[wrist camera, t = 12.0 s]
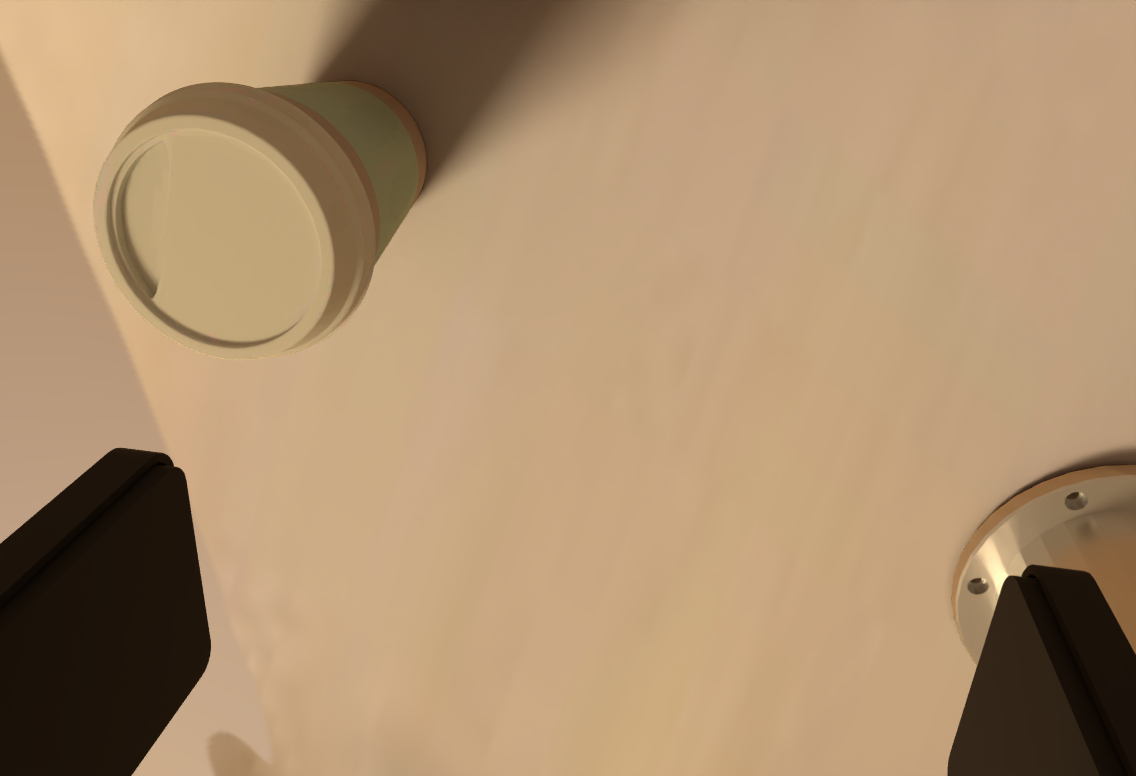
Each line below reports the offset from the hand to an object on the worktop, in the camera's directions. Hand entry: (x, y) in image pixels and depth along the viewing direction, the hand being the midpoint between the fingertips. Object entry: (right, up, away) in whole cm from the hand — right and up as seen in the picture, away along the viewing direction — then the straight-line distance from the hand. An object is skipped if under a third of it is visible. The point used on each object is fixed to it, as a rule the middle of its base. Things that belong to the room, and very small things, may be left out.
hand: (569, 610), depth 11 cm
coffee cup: (-8, +12, +28) cm, 31 cm away
